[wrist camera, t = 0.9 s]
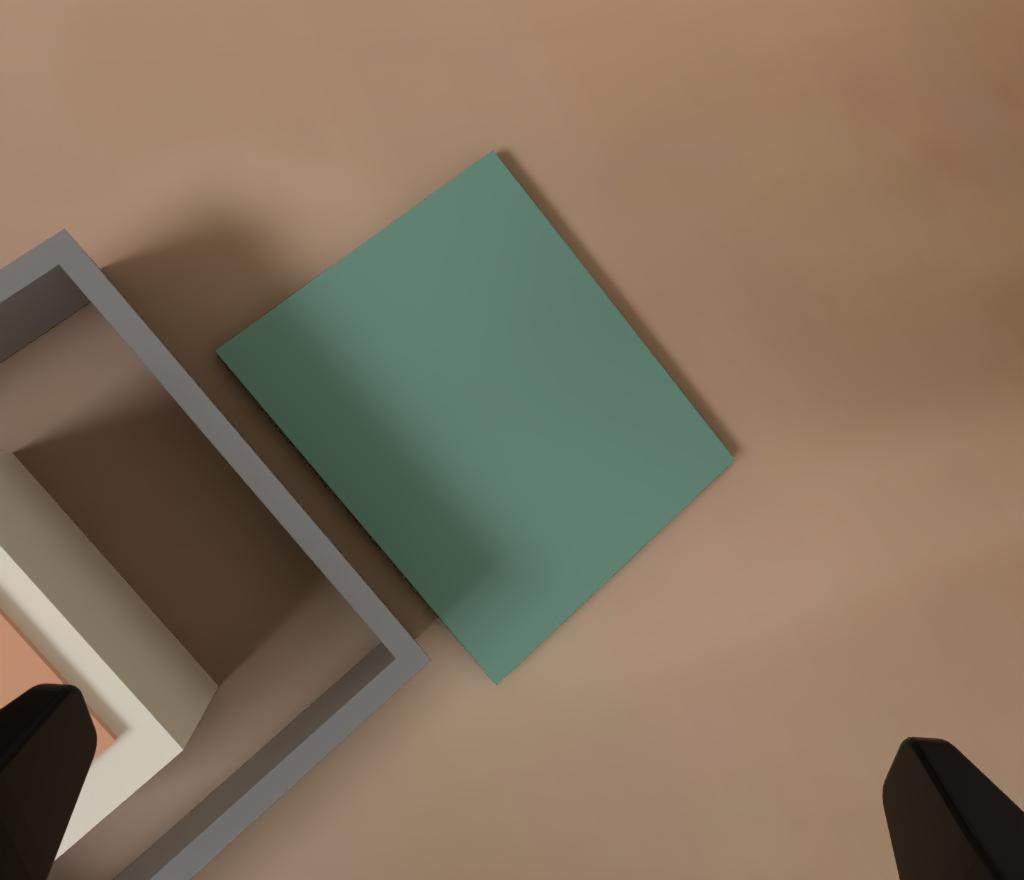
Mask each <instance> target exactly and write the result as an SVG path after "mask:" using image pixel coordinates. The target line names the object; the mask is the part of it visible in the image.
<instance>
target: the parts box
mask: <svg viewBox="0 0 1024 880" xmlns="http://www.w3.org/2000/svg"><path fill="white" fill-rule="evenodd" d="M43 683H51V684H67V685H74V686H76V687H77V688H79V689H80V690H81V692H82V694H83V697H84V700H85V702H86V705H87V708H88V710H89V713H90V716H91V718H92V721H93V724H94V726H95V729H96V732H97V747H96V752H95V755H94V758H93V761H92V763H91V766H90V769H89V771H88V774H87V777H86V779H85V782H84V784H83V787H82V790H81V792H80V795H79V798H78V800H77V803H76V805H75V808H74V811H73V813H72V816H71V819H70V821H69V824H68V826H67V829H66V832H65V834H64V837H63V840H62V842H61V845H60V847H59V850H58V853H57V855H56V858H55V860H56V859H57V858H58V857H59V856H61V855H62V854H63V853H64V852H65V851H66V850H68V849H69V848H70V847H71V846H72V845H73V844H75V843H76V842H77V841H78V840H79V839H80V838H82V837H83V836H84V835H85V834H86V833H87V832H89V831H90V830H91V829H92V828H93V827H94V826H96V825H97V824H98V823H99V822H100V821H101V820H102V819H104V818H105V817H106V816H107V815H108V814H109V813H111V812H112V811H113V810H114V809H115V808H116V807H118V806H119V805H120V804H121V803H122V802H123V801H125V800H126V799H127V798H128V797H129V796H130V795H132V794H133V793H134V792H135V791H136V790H137V789H139V788H140V787H141V786H142V785H143V784H144V783H146V782H147V781H148V780H149V779H150V778H151V777H153V776H154V775H155V774H156V773H157V772H158V771H160V770H161V769H162V768H163V767H164V766H165V765H167V764H168V763H169V762H170V761H171V760H172V759H174V758H175V757H176V756H177V755H178V754H179V753H180V752H182V751H183V750H184V748H185V746H186V744H187V743H188V741H189V739H190V737H191V735H192V734H193V732H194V730H195V728H196V726H197V725H198V723H199V721H200V719H201V718H202V716H203V714H204V712H205V710H206V709H207V707H208V705H209V703H210V701H211V700H212V698H213V696H214V694H215V692H216V691H217V689H218V687H219V686H218V685H217V684H216V683H215V682H214V680H213V679H212V678H211V677H210V676H209V675H208V674H207V673H206V671H205V670H204V669H203V668H202V667H201V666H200V665H199V663H198V662H197V661H196V660H195V659H194V658H193V657H192V656H191V654H190V653H189V652H188V651H187V650H186V649H185V648H184V647H183V645H182V644H181V643H180V642H179V641H178V640H177V639H176V637H175V636H174V635H173V634H172V633H171V632H170V631H169V630H168V628H167V627H166V626H165V625H164V624H163V623H162V622H161V620H160V619H159V618H158V617H157V616H156V615H155V614H154V613H153V611H152V610H151V609H150V608H149V607H148V606H147V605H146V604H145V602H144V601H143V600H142V599H141V598H140V597H139V596H138V594H137V593H136V592H135V591H134V590H133V589H132V588H131V587H130V585H129V584H128V583H127V582H126V581H125V580H124V579H123V577H122V576H121V575H120V574H119V573H118V572H117V571H116V570H115V568H114V567H113V566H112V565H111V564H110V563H109V562H108V560H107V559H106V558H105V557H104V556H103V555H102V554H101V553H100V551H99V550H98V549H97V548H96V547H95V546H94V545H93V544H92V542H91V541H90V540H89V539H88V538H87V537H86V536H85V534H84V533H83V532H82V531H81V530H80V529H79V528H78V527H77V525H76V524H75V523H74V522H73V521H72V520H71V519H70V517H69V516H68V515H67V514H66V513H65V512H64V511H63V510H62V508H61V507H60V506H59V505H58V504H57V503H56V502H55V501H54V499H53V498H52V497H51V496H50V495H49V494H48V493H47V491H46V490H45V489H44V488H43V487H42V486H41V485H40V484H39V482H38V481H37V480H36V479H35V478H34V477H33V476H32V474H31V473H30V472H29V471H28V470H27V469H26V468H25V467H24V465H23V464H22V463H21V462H20V461H19V460H18V459H17V458H16V456H15V455H14V454H13V453H11V452H6V451H1V450H0V709H1V708H2V707H4V706H5V705H7V704H8V703H10V702H11V701H12V700H14V699H15V698H17V697H18V696H20V695H21V694H22V693H24V692H25V691H27V690H28V689H30V688H32V687H34V686H36V685H38V684H43Z"/></svg>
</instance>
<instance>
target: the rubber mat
mask: <svg viewBox="0 0 1024 880" xmlns="http://www.w3.org/2000/svg"><path fill="white" fill-rule="evenodd" d="M215 352H216V353H217V355H218V356H219V357H220V358H221V359H222V360H223V362H224V363H225V364H226V365H227V366H228V368H229V369H230V370H231V371H232V372H233V373H234V375H235V376H236V377H237V378H238V379H239V381H240V382H241V383H242V384H243V385H244V387H245V388H246V389H247V390H248V391H249V392H250V394H251V395H252V396H253V397H254V398H255V400H256V401H257V402H258V403H259V404H260V406H261V407H262V408H263V409H264V410H265V411H266V413H267V414H268V415H269V416H270V417H271V419H272V420H273V421H274V422H275V423H276V425H277V426H278V427H279V428H280V429H281V430H282V432H283V433H284V434H285V435H286V436H287V438H288V439H289V440H290V441H291V442H292V443H293V445H294V446H295V447H296V448H297V449H298V451H299V452H300V453H301V454H302V455H303V457H304V458H305V459H306V460H307V461H308V462H309V464H310V465H311V466H312V467H313V468H314V470H315V471H316V472H317V473H318V474H319V476H320V477H321V478H322V479H323V480H324V481H325V483H326V484H327V485H328V486H329V487H330V489H331V490H332V491H333V492H334V493H335V494H336V496H337V497H338V498H339V499H340V500H341V502H342V503H343V504H344V505H345V506H346V508H347V509H348V510H349V511H350V512H351V513H352V515H353V516H354V517H355V518H356V519H357V521H358V522H359V523H360V524H361V525H362V527H363V528H364V529H365V530H366V531H367V532H368V534H369V535H370V536H371V537H372V538H373V540H374V541H375V542H376V543H377V544H378V545H379V547H380V548H381V549H382V550H383V551H384V553H385V554H386V555H387V556H388V557H389V559H390V560H391V561H392V562H393V563H394V564H395V566H396V567H397V568H398V569H399V570H400V572H401V573H402V574H403V575H404V576H405V578H406V579H407V580H408V581H409V582H410V583H411V585H412V586H413V587H414V588H415V589H416V591H417V592H418V593H419V594H420V595H421V596H422V598H423V599H424V600H425V601H426V602H427V604H428V605H429V606H430V607H431V608H432V610H433V611H434V612H435V613H436V614H437V615H438V617H439V618H440V619H441V620H442V621H443V623H444V624H445V625H446V626H447V627H448V629H449V630H450V631H451V632H452V633H453V634H454V636H455V637H456V638H457V639H458V640H459V642H460V643H461V644H462V645H463V646H464V648H465V649H466V650H467V651H468V652H469V653H470V655H471V656H472V657H473V658H474V659H475V661H476V662H477V663H478V664H479V665H480V666H481V668H482V669H483V670H484V671H485V672H486V674H487V675H488V676H489V677H490V678H491V680H492V681H493V682H494V683H495V684H496V685H497V684H498V683H499V682H500V681H501V680H502V679H503V678H504V677H505V676H507V675H508V674H509V673H510V672H511V671H512V670H513V669H514V668H515V667H516V666H517V665H518V664H519V663H520V662H521V661H522V660H523V659H525V658H526V657H527V656H528V655H529V654H530V653H531V652H532V651H533V650H534V649H535V648H536V647H537V646H538V645H539V644H540V643H541V642H543V641H544V640H545V639H546V638H547V637H548V636H549V635H550V634H551V633H552V632H553V631H554V630H555V629H556V628H557V627H558V626H559V625H561V624H562V623H563V622H564V621H565V620H566V619H567V618H568V617H569V616H570V615H571V614H572V613H573V612H574V611H575V610H576V609H577V608H579V607H580V606H581V605H582V604H583V603H584V602H585V601H586V600H587V599H588V598H589V597H590V596H591V595H592V594H593V593H594V592H595V591H597V590H598V589H599V588H600V587H601V586H602V585H603V584H604V583H605V582H606V581H607V580H608V579H609V578H610V577H611V576H612V575H613V574H615V573H616V572H617V571H618V570H619V569H620V568H621V567H622V566H623V565H624V564H625V563H626V562H627V561H628V560H629V559H630V558H631V557H633V556H634V555H635V554H636V553H637V552H638V551H639V550H640V549H641V548H642V547H643V546H644V545H645V544H646V543H647V542H648V541H649V540H651V539H652V538H653V537H654V536H655V535H656V534H657V533H658V532H659V531H660V530H661V529H662V528H663V527H664V526H665V525H666V524H667V523H669V522H670V521H671V520H672V519H673V518H674V517H675V516H676V515H677V514H678V513H679V512H680V511H681V510H682V509H683V508H684V507H685V506H687V505H688V504H689V503H690V502H691V501H692V500H693V499H694V498H695V497H696V496H697V495H698V494H699V493H700V492H701V491H702V490H703V489H705V488H706V487H707V486H708V485H709V484H710V483H711V482H712V481H713V480H714V479H715V478H716V477H717V476H718V475H719V474H720V473H721V472H723V471H724V470H725V469H726V468H727V467H728V466H729V465H730V464H731V463H732V462H733V461H734V460H735V459H734V458H733V457H732V455H731V454H730V453H729V451H728V450H727V449H726V448H725V446H724V445H723V444H722V443H721V441H720V440H719V439H718V437H717V436H716V435H715V434H714V432H713V431H712V430H711V428H710V427H709V426H708V425H707V423H706V422H705V421H704V419H703V418H702V417H701V416H700V414H699V413H698V412H697V411H696V409H695V408H694V407H693V405H692V404H691V403H690V402H689V400H688V399H687V398H686V396H685V395H684V394H683V393H682V391H681V390H680V389H679V388H678V386H677V385H676V384H675V382H674V381H673V380H672V379H671V377H670V376H669V375H668V373H667V372H666V371H665V370H664V368H663V367H662V366H661V364H660V363H659V362H658V361H657V359H656V358H655V357H654V356H653V354H652V353H651V352H650V350H649V349H648V348H647V347H646V345H645V344H644V343H643V341H642V340H641V339H640V338H639V336H638V335H637V334H636V333H635V331H634V330H633V329H632V327H631V326H630V325H629V324H628V322H627V321H626V320H625V318H624V317H623V316H622V315H621V313H620V312H619V311H618V309H617V308H616V307H615V306H614V304H613V303H612V302H611V301H610V299H609V298H608V297H607V295H606V294H605V293H604V292H603V290H602V289H601V288H600V286H599V285H598V284H597V283H596V281H595V280H594V279H593V278H592V276H591V275H590V274H589V272H588V271H587V270H586V269H585V267H584V266H583V265H582V263H581V262H580V261H579V260H578V258H577V257H576V256H575V254H574V253H573V252H572V251H571V249H570V248H569V247H568V246H567V244H566V243H565V242H564V240H563V239H562V238H561V237H560V235H559V234H558V233H557V231H556V230H555V229H554V228H553V226H552V225H551V224H550V223H549V221H548V220H547V219H546V217H545V216H544V215H543V214H542V212H541V211H540V210H539V208H538V207H537V206H536V205H535V203H534V202H533V201H532V200H531V198H530V197H529V196H528V194H527V193H526V192H525V191H524V189H523V188H522V187H521V185H520V184H519V183H518V182H517V180H516V179H515V178H514V176H513V175H512V174H511V173H510V171H509V170H508V169H507V168H506V166H505V165H504V164H503V162H502V161H501V160H500V159H499V157H498V156H497V155H496V153H495V152H494V151H491V152H490V153H489V154H487V155H486V156H484V157H483V158H482V159H480V160H479V161H478V162H476V163H475V164H473V165H472V166H471V167H469V168H468V169H466V170H465V171H464V172H462V173H461V174H459V175H458V176H457V177H455V178H454V179H453V180H451V181H450V182H448V183H447V184H446V185H444V186H443V187H441V188H440V189H439V190H437V191H436V192H435V193H433V194H432V195H430V196H429V197H428V198H426V199H425V200H423V201H422V202H421V203H419V204H418V205H416V206H415V207H414V208H412V209H411V210H410V211H408V212H407V213H405V214H404V215H403V216H401V217H400V218H398V219H397V220H396V221H394V222H393V223H391V224H390V225H389V226H387V227H386V228H385V229H383V230H382V231H380V232H379V233H378V234H376V235H375V236H373V237H372V238H371V239H369V240H368V241H367V242H365V243H364V244H362V245H361V246H360V247H358V248H357V249H355V250H354V251H353V252H351V253H350V254H348V255H347V256H346V257H344V258H343V259H342V260H340V261H339V262H337V263H336V264H335V265H333V266H332V267H330V268H329V269H328V270H326V271H325V272H324V273H322V274H321V275H319V276H318V277H317V278H315V279H314V280H312V281H311V282H310V283H308V284H307V285H305V286H304V287H303V288H301V289H300V290H299V291H297V292H296V293H294V294H293V295H292V296H290V297H289V298H287V299H286V300H285V301H283V302H282V303H280V304H279V305H278V306H276V307H275V308H274V309H272V310H271V311H269V312H268V313H267V314H265V315H264V316H262V317H261V318H260V319H258V320H257V321H256V322H254V323H253V324H251V325H250V326H249V327H247V328H246V329H244V330H243V331H242V332H240V333H239V334H237V335H236V336H235V337H233V338H232V339H231V340H229V341H228V342H226V343H225V344H224V345H222V346H221V347H219V348H218V349H217V350H215Z"/></svg>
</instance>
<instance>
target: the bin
mask: <svg viewBox="0 0 1024 880" xmlns="http://www.w3.org/2000/svg"><path fill="white" fill-rule="evenodd" d="M90 302H92V304H93V305H94V306H95V307H96V308H97V309H98V311H99V312H100V313H101V314H102V315H103V316H104V318H105V319H106V320H107V321H108V322H109V323H110V325H111V326H112V327H113V328H114V329H115V330H116V332H117V333H118V334H119V335H120V336H121V337H122V339H123V340H124V341H125V342H126V343H127V344H128V346H129V347H130V348H131V349H132V350H133V351H134V353H135V354H136V355H137V356H138V357H139V359H140V360H141V361H142V362H143V363H144V364H145V366H146V367H147V368H148V369H149V370H150V371H151V373H152V374H153V375H154V376H155V377H156V378H157V380H158V381H159V382H160V383H161V384H162V385H163V387H164V388H165V389H166V390H167V391H168V392H169V394H170V395H171V396H172V397H173V398H174V399H175V401H176V402H177V403H178V404H179V405H180V407H181V408H182V409H183V410H184V411H185V412H186V414H187V415H188V416H189V417H190V418H191V419H192V421H193V422H194V423H195V424H196V425H197V426H198V428H199V429H200V430H201V431H202V432H203V433H204V435H205V436H206V437H207V438H208V439H209V440H210V442H211V443H212V444H213V445H214V446H215V447H216V449H217V450H218V451H219V452H220V453H221V454H222V456H223V457H224V458H225V459H226V460H227V462H228V463H229V464H230V465H231V466H232V467H233V469H234V470H235V471H236V472H237V473H238V474H239V476H240V477H241V478H242V479H243V480H244V481H245V483H246V484H247V485H248V486H249V487H250V488H251V490H252V491H253V492H254V493H255V494H256V495H257V497H258V498H259V499H260V500H261V501H262V502H263V504H264V505H265V506H266V507H267V508H268V509H269V511H270V512H271V513H272V514H273V515H274V517H275V518H276V519H277V520H278V521H279V522H280V524H281V525H282V526H283V527H284V528H285V529H286V531H287V532H288V533H289V534H290V535H291V536H292V538H293V539H294V540H295V541H296V542H297V543H298V545H299V546H300V547H301V548H302V549H303V550H304V552H305V553H306V554H307V555H308V556H309V557H310V559H311V560H312V561H313V562H314V563H315V564H316V566H317V567H318V568H319V569H320V570H321V572H322V573H323V574H324V575H325V576H326V577H327V579H328V580H329V581H330V582H331V583H332V584H333V586H334V587H335V588H336V589H337V590H338V591H339V593H340V594H341V595H342V596H343V597H344V598H345V600H346V601H347V602H348V603H349V604H350V605H351V607H352V608H353V609H354V610H355V611H356V612H357V614H358V615H359V616H360V617H361V618H362V619H363V621H364V622H365V623H366V624H367V625H368V627H369V628H370V629H371V630H372V631H373V632H374V634H375V635H376V636H377V637H378V638H379V639H380V641H381V642H382V643H381V644H379V645H378V646H377V647H376V648H375V649H374V650H373V651H372V652H370V653H369V654H368V655H367V656H366V657H365V658H364V659H363V660H361V661H360V662H359V663H358V664H357V665H356V666H355V667H353V668H352V669H351V670H350V671H349V672H348V673H347V674H346V675H344V676H343V677H342V678H341V679H340V680H339V681H338V682H337V683H335V684H334V685H333V686H332V687H331V688H330V689H329V690H327V691H326V692H325V693H324V694H323V695H322V696H321V697H320V698H318V699H317V700H316V701H315V702H314V703H313V704H312V705H311V706H309V707H308V708H307V709H306V710H305V711H304V712H303V713H301V714H300V715H299V716H298V717H297V718H296V719H295V720H294V721H292V722H291V723H290V724H289V725H288V726H287V727H286V728H285V729H283V730H282V731H281V732H280V733H279V734H278V735H277V736H275V737H274V738H273V739H272V740H271V741H270V742H269V743H268V744H266V745H265V746H264V747H263V748H262V749H261V750H260V751H259V752H257V753H256V754H255V755H254V756H253V757H252V758H251V759H249V760H248V761H247V762H246V763H245V764H244V765H243V766H242V767H240V768H239V769H238V770H237V771H236V772H235V773H234V774H233V775H231V776H230V777H229V778H228V779H227V780H226V781H225V782H223V783H222V784H221V785H220V786H219V787H218V788H217V789H216V790H214V791H213V792H212V793H211V794H210V795H209V796H208V797H207V798H205V799H204V800H203V801H202V802H201V803H200V804H199V805H197V806H196V807H195V808H194V809H193V810H192V811H191V812H190V813H188V814H187V815H186V816H185V817H184V818H183V819H182V820H181V821H179V822H178V823H177V824H176V825H175V826H174V827H173V828H171V829H170V830H169V831H168V832H167V833H166V834H165V835H164V836H162V837H161V838H160V839H159V840H158V841H157V842H156V843H155V844H153V845H152V846H151V847H150V848H149V849H148V850H147V851H145V852H144V853H143V854H142V855H141V856H140V857H139V858H138V859H136V860H135V861H134V862H133V863H132V864H131V865H130V866H129V867H127V868H126V869H125V870H124V871H123V872H122V873H121V874H119V875H118V876H117V877H116V878H115V879H114V880H190V879H191V878H192V877H193V876H194V875H195V874H196V873H197V872H198V871H200V870H201V869H202V868H203V867H204V866H205V865H206V864H207V863H208V862H209V861H211V860H212V859H213V858H214V857H215V856H216V855H217V854H218V853H219V852H220V851H222V850H223V849H224V848H225V847H226V846H227V845H228V844H229V843H230V842H231V841H233V840H234V839H235V838H236V837H237V836H238V835H239V834H240V833H241V832H242V831H244V830H245V829H246V828H247V827H248V826H249V825H250V824H251V823H252V822H253V821H255V820H256V819H257V818H258V817H259V816H260V815H261V814H262V813H263V812H264V811H266V810H267V809H268V808H269V807H270V806H271V805H272V804H273V803H274V802H275V801H277V800H278V799H279V798H280V797H281V796H282V795H283V794H284V793H285V792H286V791H288V790H289V789H290V788H291V787H292V786H293V785H294V784H295V783H296V782H297V781H299V780H300V779H301V778H302V777H303V776H304V775H305V774H306V773H307V772H308V771H310V770H311V769H312V768H313V767H314V766H315V765H316V764H317V763H318V762H319V761H321V760H322V759H323V758H324V757H325V756H326V755H327V754H328V753H329V752H330V751H332V750H333V749H334V748H335V747H336V746H337V745H338V744H339V743H340V742H341V741H343V740H344V739H345V738H346V737H347V736H348V735H349V734H350V733H351V732H352V731H354V730H355V729H356V728H357V727H358V726H359V725H360V724H361V723H362V722H363V721H365V720H366V719H367V718H368V717H369V716H370V715H371V714H372V713H373V712H374V711H376V710H377V709H378V708H379V707H380V706H381V705H382V704H383V703H384V702H385V701H387V700H388V699H389V698H390V697H391V696H392V695H393V694H394V693H395V692H396V691H398V690H399V689H400V688H401V687H402V686H403V685H404V684H405V683H406V682H407V681H409V680H410V679H411V678H412V677H413V676H414V675H415V674H416V673H417V672H418V671H420V670H421V669H422V668H423V667H424V666H425V665H426V664H427V663H428V662H429V661H431V660H430V658H429V657H428V656H427V654H426V653H425V652H424V651H423V649H422V648H421V647H420V645H419V644H418V643H417V641H416V640H415V639H414V638H413V637H412V636H411V634H410V633H409V632H408V631H407V630H406V628H405V627H404V626H403V625H402V624H401V623H400V621H399V620H398V619H397V618H396V617H395V616H394V614H393V613H392V612H391V611H390V610H389V608H388V607H387V606H386V605H385V604H384V603H383V601H382V600H381V599H380V598H379V597H378V595H377V594H376V593H375V592H374V591H373V590H372V588H371V587H370V586H369V585H368V584H367V583H366V581H365V580H364V579H363V578H362V577H361V575H360V574H359V573H358V572H357V571H356V570H355V568H354V567H353V566H352V565H351V564H350V563H349V561H348V560H347V559H346V558H345V557H344V555H343V554H342V553H341V552H340V551H339V550H338V548H337V547H336V546H335V545H334V544H333V543H332V541H331V540H330V539H329V538H328V537H327V535H326V534H325V533H324V532H323V531H322V530H321V528H320V527H319V526H318V525H317V524H316V522H315V521H314V520H313V519H312V518H311V517H310V515H309V514H308V513H307V512H306V511H305V510H304V508H303V507H302V506H301V505H300V504H299V502H298V501H297V500H296V499H295V498H294V497H293V495H292V494H291V493H290V492H289V491H288V490H287V488H286V487H285V486H284V485H283V484H282V482H281V481H280V480H279V479H278V478H277V477H276V475H275V474H274V473H273V472H272V471H271V470H270V468H269V467H268V466H267V465H266V464H265V462H264V461H263V460H262V459H261V458H260V457H259V455H258V454H257V453H256V452H255V451H254V449H253V448H252V447H251V446H250V445H249V444H248V442H247V441H246V440H245V439H244V438H243V437H242V435H241V434H240V433H239V432H238V431H237V429H236V428H235V427H234V426H233V425H232V424H231V422H230V421H229V420H228V419H227V418H226V417H225V415H224V414H223V413H222V412H221V411H220V409H219V408H218V407H217V406H216V405H215V404H214V402H213V401H212V400H211V399H210V398H209V397H208V395H207V394H206V393H205V392H204V391H203V389H202V388H201V387H200V386H199V385H198V384H197V382H196V381H195V380H194V379H193V378H192V376H191V375H190V374H189V373H188V372H187V371H186V369H185V368H184V367H183V366H182V365H181V364H180V362H179V361H178V360H177V359H176V358H175V356H174V355H173V354H172V353H171V352H170V351H169V349H168V348H167V347H166V346H165V345H164V344H163V342H162V341H161V340H160V339H159V338H158V336H157V335H156V334H155V333H154V332H153V331H152V329H151V328H150V327H149V326H148V325H147V324H146V322H145V321H144V320H143V319H142V318H141V316H140V315H139V314H138V313H137V312H136V311H135V309H134V308H133V307H132V306H131V305H130V303H129V302H128V301H127V300H126V299H125V298H124V296H123V295H122V294H121V293H120V292H119V291H118V289H117V288H116V287H115V286H114V285H113V283H112V282H111V281H110V280H109V279H108V278H107V276H106V275H105V274H104V273H103V272H102V271H101V269H100V268H99V267H98V266H97V265H96V264H95V263H94V261H93V260H92V259H91V258H90V257H89V256H88V255H87V254H86V252H85V251H84V250H83V249H82V248H81V247H80V246H79V245H78V243H77V242H76V241H75V240H74V239H73V238H72V237H71V236H70V234H69V233H68V232H67V231H66V230H65V229H63V230H62V231H60V232H59V233H57V234H55V235H54V236H52V237H51V238H49V239H48V240H46V241H44V242H43V243H41V244H40V245H38V246H37V247H35V248H33V249H32V250H30V251H29V252H27V253H26V254H24V255H23V256H21V257H19V258H18V259H16V260H15V261H13V262H12V263H10V264H8V265H7V266H5V267H4V268H2V269H1V270H0V362H2V361H3V360H5V359H6V358H8V357H9V356H11V355H12V354H14V353H15V352H17V351H18V350H20V349H21V348H23V347H24V346H26V345H27V344H29V343H30V342H32V341H33V340H35V339H36V338H38V337H39V336H41V335H42V334H44V333H45V332H47V331H48V330H50V329H51V328H53V327H54V326H56V325H57V324H59V323H60V322H62V321H63V320H65V319H66V318H68V317H69V316H70V315H72V314H73V313H75V312H76V311H78V310H79V309H81V308H82V307H84V306H85V305H87V304H88V303H90Z"/></svg>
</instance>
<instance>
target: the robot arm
mask: <svg viewBox="0 0 1024 880" xmlns="http://www.w3.org/2000/svg"><path fill="white" fill-rule="evenodd" d="M96 747H97V732H96V729H95V726H94V724H93V721H92V718H91V716H90V713H89V710H88V708H87V705H86V702H85V700H84V697H83V694H82V692H81V690H80V689H79V688H77V687H76V686H74V685H67V684H51V683H43V684H38V685H36V686H34V687H32V688H30V689H28V690H27V691H25V692H24V693H22V694H21V695H20V696H18V697H17V698H15V699H14V700H12V701H11V702H10V703H8V704H7V705H5V706H4V707H2V708H1V709H0V880H47V878H48V876H49V873H50V871H51V868H52V866H53V863H54V861H55V858H56V855H57V853H58V850H59V847H60V845H61V842H62V840H63V837H64V834H65V832H66V829H67V826H68V824H69V821H70V819H71V816H72V813H73V811H74V808H75V805H76V803H77V800H78V798H79V795H80V792H81V790H82V787H83V784H84V782H85V779H86V777H87V774H88V771H89V769H90V766H91V763H92V761H93V758H94V755H95V752H96ZM882 797H883V806H884V811H885V815H886V820H887V824H888V829H889V833H890V838H891V842H892V847H893V851H894V856H895V860H896V865H897V869H898V874H899V878H900V880H1024V812H1023V811H1022V810H1021V809H1020V808H1019V807H1018V806H1017V805H1016V804H1015V803H1014V802H1013V801H1012V800H1011V799H1010V798H1009V797H1008V796H1006V795H1005V794H1004V793H1003V792H1002V791H1001V790H1000V789H999V788H998V787H997V786H996V785H995V784H994V783H993V782H992V781H991V780H990V779H989V778H988V777H986V776H985V775H984V774H983V773H982V772H981V771H980V770H979V769H978V768H977V767H976V766H975V765H974V764H973V763H972V762H971V761H970V760H969V759H967V758H966V757H965V756H964V755H963V754H962V753H961V752H960V751H959V750H958V749H957V748H956V747H955V746H953V745H952V744H951V743H949V742H948V741H945V740H943V739H938V738H922V737H908V738H907V739H905V740H904V741H903V742H902V743H901V745H900V747H899V749H898V752H897V754H896V756H895V759H894V761H893V763H892V765H891V768H890V770H889V772H888V775H887V777H886V779H885V782H884V785H883V795H882Z"/></svg>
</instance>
